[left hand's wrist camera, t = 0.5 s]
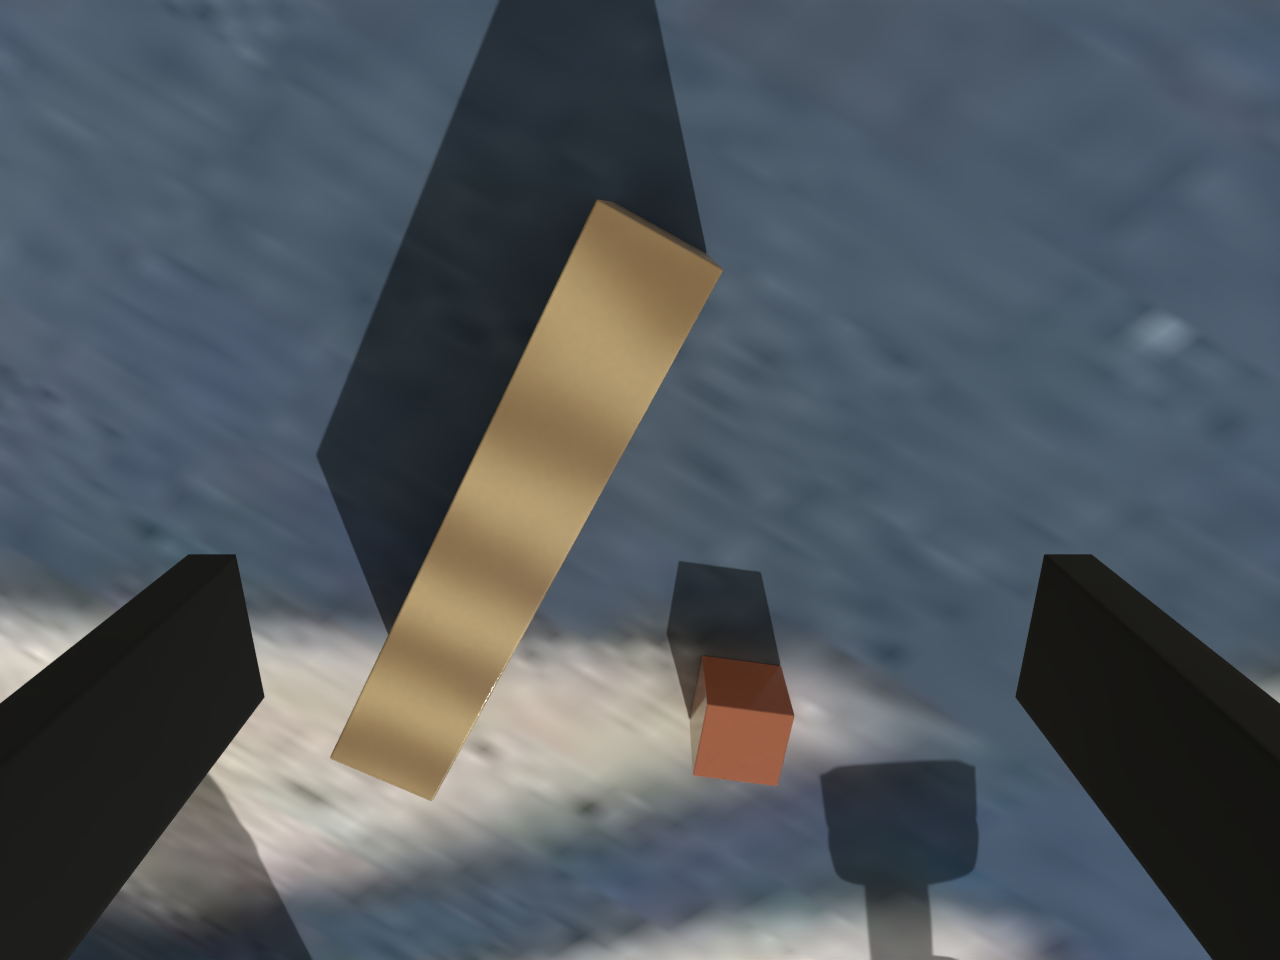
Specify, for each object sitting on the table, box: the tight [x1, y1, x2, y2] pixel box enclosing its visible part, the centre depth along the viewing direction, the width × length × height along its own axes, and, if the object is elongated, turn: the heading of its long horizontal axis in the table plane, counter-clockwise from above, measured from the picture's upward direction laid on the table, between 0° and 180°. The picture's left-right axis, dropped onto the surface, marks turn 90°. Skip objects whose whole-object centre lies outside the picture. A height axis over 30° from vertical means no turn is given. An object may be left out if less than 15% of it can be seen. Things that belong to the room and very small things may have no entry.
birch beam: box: [331, 200, 723, 801], centre depth 31 cm, size 24×4×8 cm, turn 152°
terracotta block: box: [690, 656, 794, 786], centre depth 37 cm, size 4×4×4 cm
